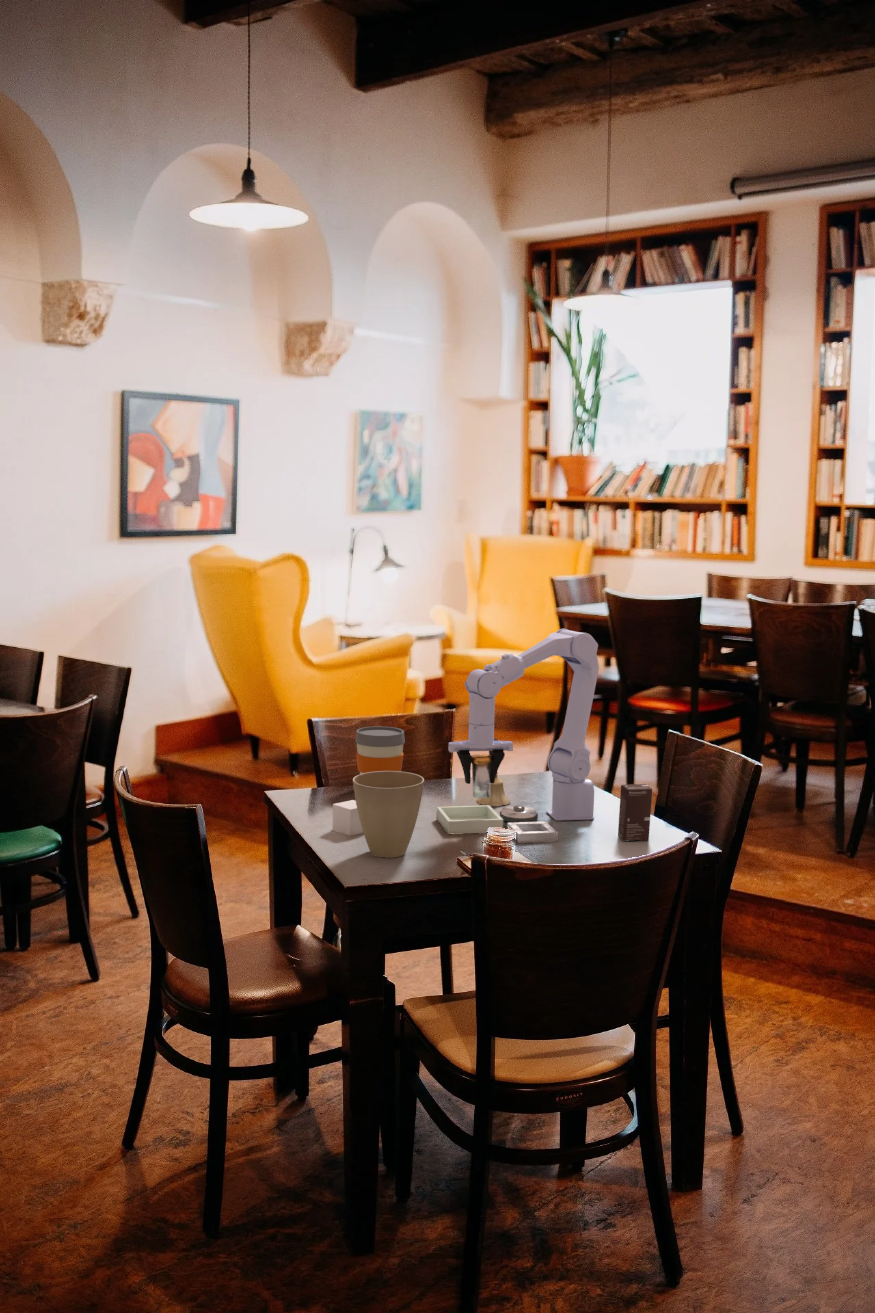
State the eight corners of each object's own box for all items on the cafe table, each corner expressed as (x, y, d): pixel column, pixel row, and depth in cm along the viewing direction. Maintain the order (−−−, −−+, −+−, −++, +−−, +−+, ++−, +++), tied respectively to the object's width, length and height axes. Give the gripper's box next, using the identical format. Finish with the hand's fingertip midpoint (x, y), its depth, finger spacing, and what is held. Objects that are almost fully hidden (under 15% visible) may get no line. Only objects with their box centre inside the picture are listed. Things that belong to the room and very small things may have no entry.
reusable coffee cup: (344, 787, 312) (345, 730, 310) (382, 780, 320) (383, 724, 318) (376, 797, 303) (377, 738, 301) (414, 790, 311) (415, 732, 309)
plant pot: (370, 839, 267) (371, 767, 265) (433, 848, 261) (435, 775, 259) (339, 857, 253) (340, 782, 251) (404, 867, 248) (406, 790, 245)
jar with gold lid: (493, 793, 279) (492, 753, 278) (493, 798, 274) (491, 758, 273) (470, 793, 279) (469, 754, 278) (470, 799, 274) (468, 758, 273)
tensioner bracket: (531, 817, 288) (532, 801, 287) (557, 841, 269) (558, 824, 268) (494, 818, 286) (495, 802, 286) (518, 842, 267) (518, 825, 266)
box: (624, 842, 269) (627, 789, 267) (617, 836, 273) (619, 784, 272) (650, 841, 270) (653, 788, 269) (642, 835, 275) (645, 783, 273)
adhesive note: (350, 836, 269) (350, 809, 269) (332, 830, 274) (332, 804, 273) (370, 831, 274) (370, 805, 273) (352, 825, 278) (353, 799, 277)
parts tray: (488, 817, 287) (489, 805, 286) (502, 832, 275) (503, 819, 274) (436, 819, 284) (436, 806, 284) (448, 834, 272) (448, 821, 271)
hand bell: (470, 803, 300) (472, 739, 298) (487, 796, 307) (489, 733, 305) (499, 808, 295) (501, 743, 293) (516, 801, 302) (518, 738, 300)
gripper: (507, 719, 280) (505, 777, 282) (446, 720, 277) (444, 779, 279) (516, 725, 274) (514, 784, 275) (453, 726, 270) (451, 786, 272)
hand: (479, 782), depth 277 cm, fingers closed on jar with gold lid, 5 cm apart
